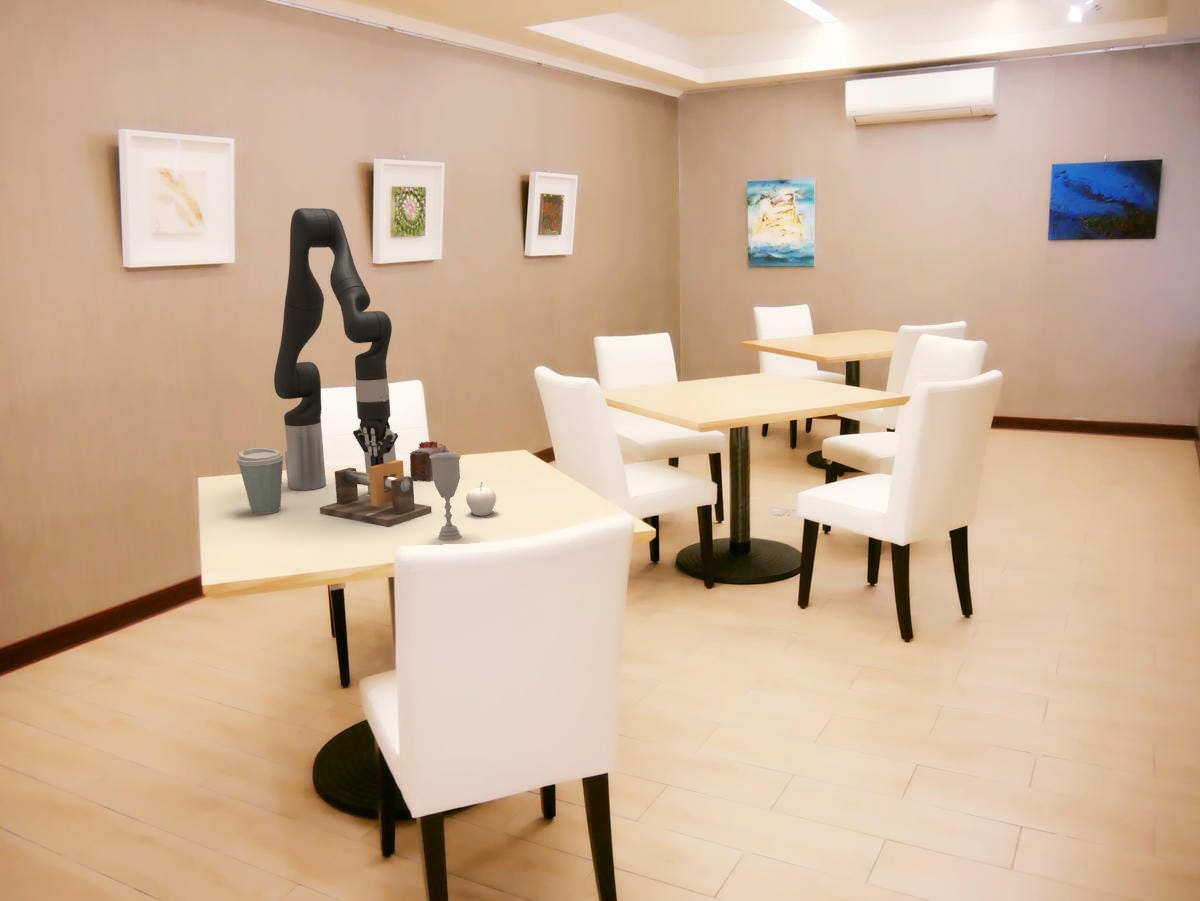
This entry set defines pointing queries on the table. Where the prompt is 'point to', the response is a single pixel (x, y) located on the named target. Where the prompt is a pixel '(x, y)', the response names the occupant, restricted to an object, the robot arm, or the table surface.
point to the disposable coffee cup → (262, 478)
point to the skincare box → (386, 458)
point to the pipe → (363, 479)
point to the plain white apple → (481, 500)
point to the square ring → (377, 480)
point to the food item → (424, 460)
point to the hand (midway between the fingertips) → (377, 470)
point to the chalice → (446, 487)
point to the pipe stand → (363, 511)
